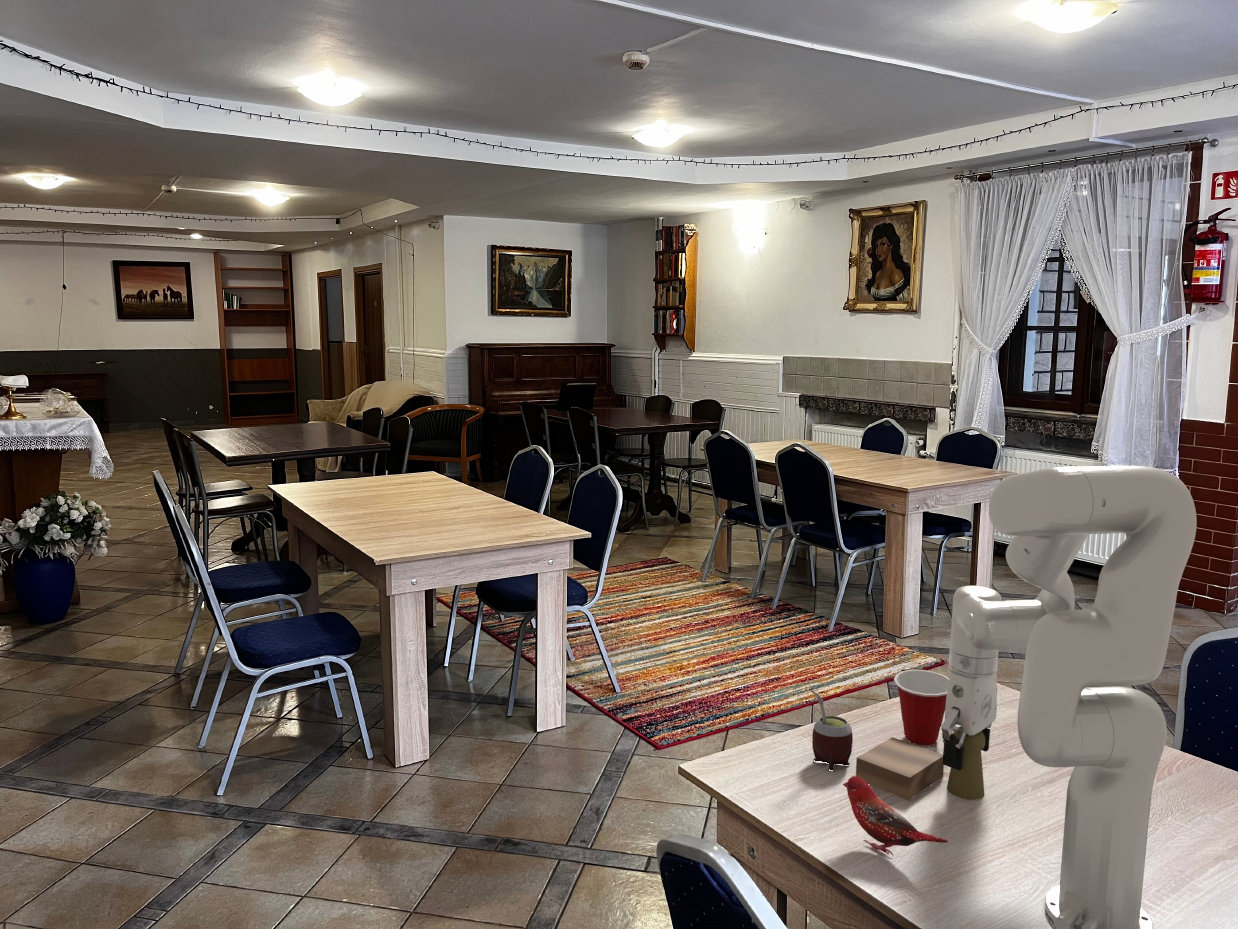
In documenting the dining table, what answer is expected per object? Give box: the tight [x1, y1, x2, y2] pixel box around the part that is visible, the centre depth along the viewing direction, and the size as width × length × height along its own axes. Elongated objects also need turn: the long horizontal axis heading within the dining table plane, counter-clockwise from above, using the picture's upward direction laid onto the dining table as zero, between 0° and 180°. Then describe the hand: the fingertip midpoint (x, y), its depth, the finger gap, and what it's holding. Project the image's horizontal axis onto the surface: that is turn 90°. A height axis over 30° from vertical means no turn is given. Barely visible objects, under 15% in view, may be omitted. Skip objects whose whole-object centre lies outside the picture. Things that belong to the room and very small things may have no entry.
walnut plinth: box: [855, 736, 945, 801], centre depth 160 cm, size 12×10×4 cm
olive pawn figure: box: [946, 725, 985, 801], centre depth 155 cm, size 6×6×11 cm
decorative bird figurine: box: [842, 775, 949, 856], centre depth 135 cm, size 3×18×10 cm, turn 41°
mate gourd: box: [810, 689, 854, 771], centre depth 164 cm, size 8×8×15 cm
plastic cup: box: [893, 669, 950, 747], centre depth 175 cm, size 11×11×12 cm
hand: (965, 757), depth 156 cm, fingers open, 9 cm apart
